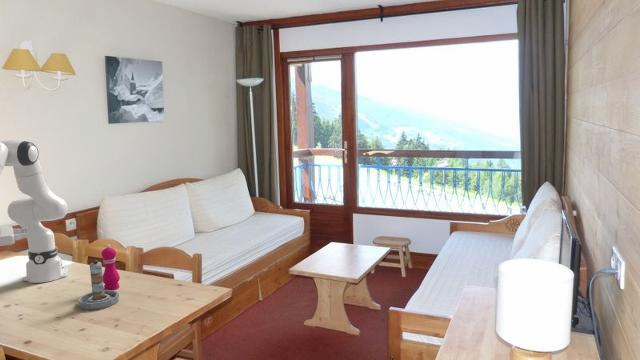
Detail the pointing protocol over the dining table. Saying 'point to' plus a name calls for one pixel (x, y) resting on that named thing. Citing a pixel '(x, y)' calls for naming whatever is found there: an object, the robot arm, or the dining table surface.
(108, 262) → the pepper mill
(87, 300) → the tray
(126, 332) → the dining table surface
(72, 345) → the dining table surface
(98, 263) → the bead column
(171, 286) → the dining table surface
